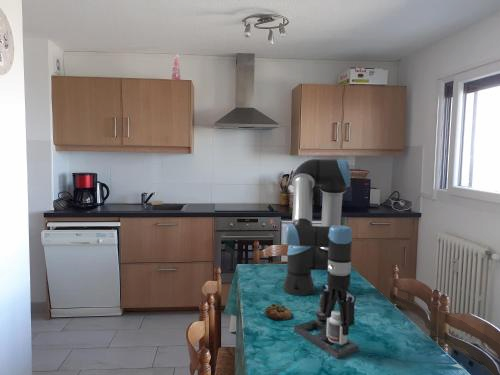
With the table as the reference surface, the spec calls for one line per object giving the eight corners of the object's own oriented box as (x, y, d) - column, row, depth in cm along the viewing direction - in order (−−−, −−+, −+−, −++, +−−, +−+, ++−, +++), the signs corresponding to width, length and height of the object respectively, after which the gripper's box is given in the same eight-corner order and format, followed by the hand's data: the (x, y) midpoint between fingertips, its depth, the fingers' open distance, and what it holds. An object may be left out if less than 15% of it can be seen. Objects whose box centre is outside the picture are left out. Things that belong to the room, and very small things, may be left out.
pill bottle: (343, 345, 124) (344, 316, 123) (326, 342, 126) (327, 314, 125) (345, 338, 129) (346, 310, 128) (329, 335, 131) (330, 308, 130)
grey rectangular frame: (293, 331, 139) (294, 326, 139) (314, 325, 144) (314, 320, 144) (336, 359, 120) (337, 353, 120) (358, 351, 126) (359, 345, 126)
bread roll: (260, 318, 150) (262, 305, 150) (269, 311, 160) (270, 299, 160) (287, 324, 146) (289, 311, 146) (294, 316, 156) (295, 304, 156)
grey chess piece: (321, 326, 144) (322, 295, 143) (311, 320, 149) (312, 290, 148) (333, 323, 147) (334, 293, 146) (323, 317, 152) (324, 288, 151)
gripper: (312, 266, 131) (309, 331, 133) (351, 282, 116) (348, 354, 118) (327, 263, 135) (325, 326, 137) (368, 278, 120) (365, 348, 122)
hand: (336, 339), depth 128 cm, fingers closed on pill bottle, 5 cm apart
